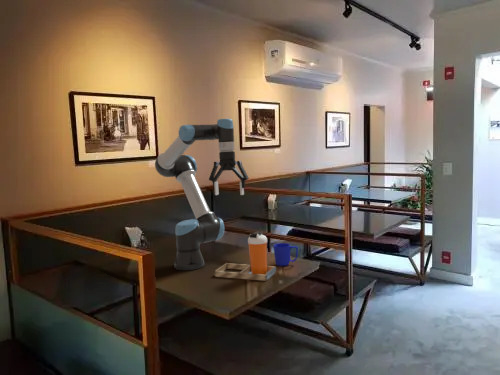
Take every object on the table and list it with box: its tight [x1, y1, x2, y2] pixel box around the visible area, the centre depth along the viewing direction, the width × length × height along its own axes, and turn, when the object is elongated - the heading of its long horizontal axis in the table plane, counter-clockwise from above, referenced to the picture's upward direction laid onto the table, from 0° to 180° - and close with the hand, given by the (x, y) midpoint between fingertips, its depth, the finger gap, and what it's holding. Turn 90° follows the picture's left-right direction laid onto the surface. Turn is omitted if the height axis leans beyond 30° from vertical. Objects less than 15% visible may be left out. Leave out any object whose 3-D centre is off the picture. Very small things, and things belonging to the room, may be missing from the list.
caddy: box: [213, 262, 277, 282], centre depth 195 cm, size 26×13×2 cm, turn 68°
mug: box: [273, 242, 299, 267], centre depth 206 cm, size 8×12×10 cm
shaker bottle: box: [247, 230, 268, 275], centre depth 192 cm, size 9×9×20 cm
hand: (229, 194), depth 202 cm, fingers open, 13 cm apart
